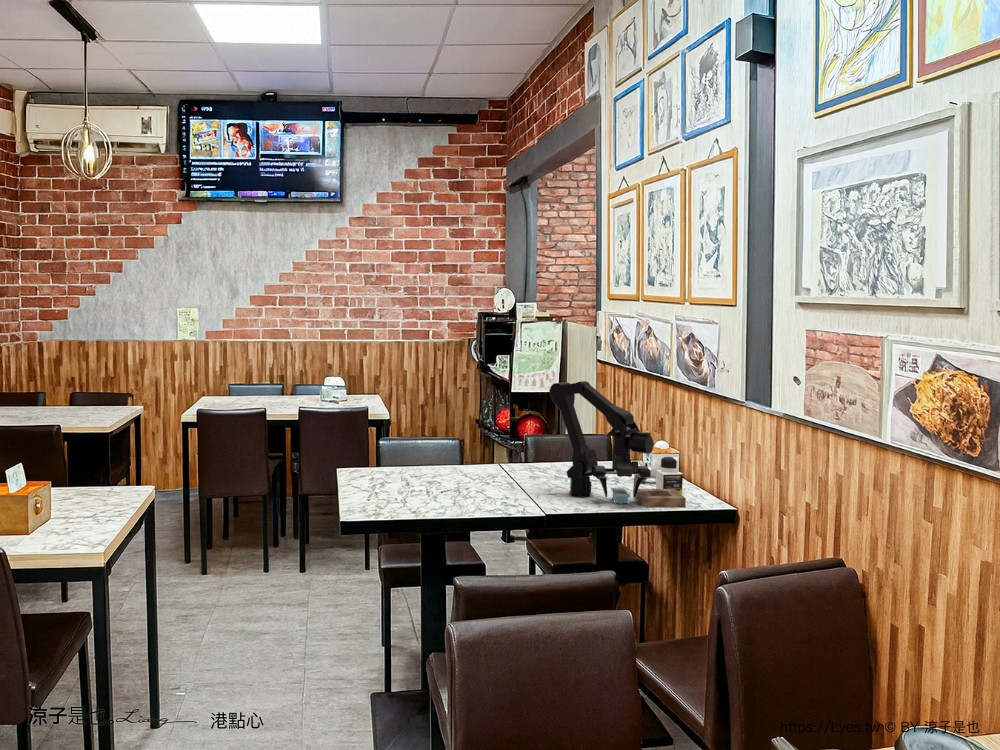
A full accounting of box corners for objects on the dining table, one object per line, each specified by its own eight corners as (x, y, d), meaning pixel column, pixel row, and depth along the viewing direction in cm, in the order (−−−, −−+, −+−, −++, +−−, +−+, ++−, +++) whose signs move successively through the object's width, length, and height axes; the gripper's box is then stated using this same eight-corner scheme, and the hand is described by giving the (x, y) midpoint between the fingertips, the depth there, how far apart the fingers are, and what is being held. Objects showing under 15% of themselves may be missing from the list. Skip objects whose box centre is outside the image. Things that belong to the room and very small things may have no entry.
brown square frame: (642, 506, 294) (642, 498, 294) (633, 497, 308) (634, 488, 308) (685, 507, 295) (685, 498, 295) (675, 497, 309) (675, 489, 309)
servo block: (616, 506, 295) (617, 495, 295) (611, 498, 306) (611, 487, 306) (629, 506, 296) (629, 495, 295) (622, 498, 307) (623, 487, 306)
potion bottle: (680, 488, 330) (638, 491, 332) (677, 468, 337) (636, 472, 339) (680, 470, 324) (637, 474, 326) (676, 451, 332) (635, 454, 333)
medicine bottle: (662, 494, 314) (664, 459, 313) (655, 489, 321) (656, 456, 320) (682, 493, 315) (683, 459, 314) (674, 489, 322) (675, 455, 321)
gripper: (596, 454, 291) (595, 502, 292) (655, 454, 292) (653, 503, 293) (591, 448, 302) (590, 494, 303) (647, 448, 303) (646, 495, 304)
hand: (620, 497), depth 301 cm, fingers open, 9 cm apart
